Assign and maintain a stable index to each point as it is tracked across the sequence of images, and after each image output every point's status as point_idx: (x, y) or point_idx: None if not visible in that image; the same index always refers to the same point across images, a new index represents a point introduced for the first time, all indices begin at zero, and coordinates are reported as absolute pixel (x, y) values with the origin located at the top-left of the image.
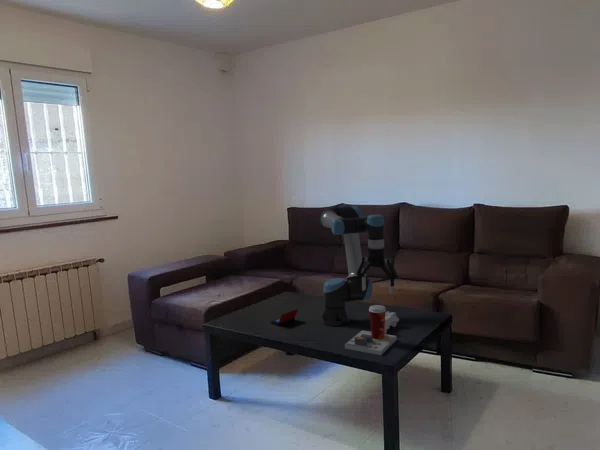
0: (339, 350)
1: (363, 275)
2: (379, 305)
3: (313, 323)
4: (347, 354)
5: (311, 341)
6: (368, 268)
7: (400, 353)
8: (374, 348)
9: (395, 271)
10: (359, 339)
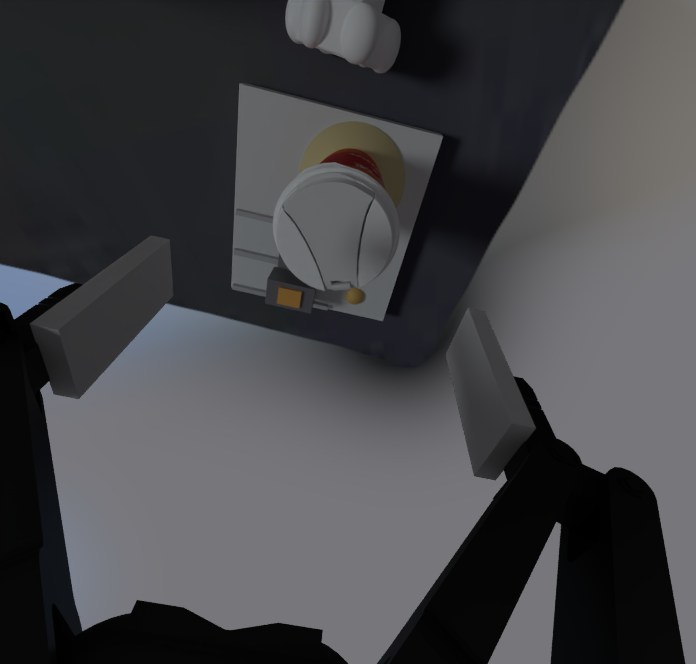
0: (225, 298)
1: (26, 358)
2: (341, 192)
3: None
4: (265, 323)
5: (75, 236)
6: (68, 580)
7: (455, 284)
8: (354, 303)
9: (662, 592)
10: (288, 308)
